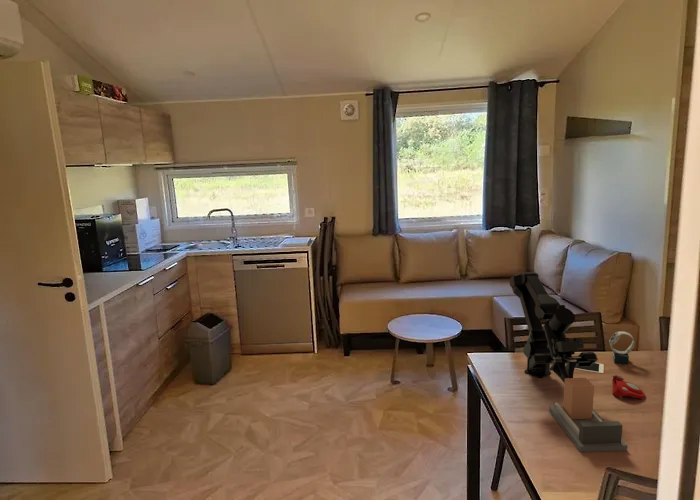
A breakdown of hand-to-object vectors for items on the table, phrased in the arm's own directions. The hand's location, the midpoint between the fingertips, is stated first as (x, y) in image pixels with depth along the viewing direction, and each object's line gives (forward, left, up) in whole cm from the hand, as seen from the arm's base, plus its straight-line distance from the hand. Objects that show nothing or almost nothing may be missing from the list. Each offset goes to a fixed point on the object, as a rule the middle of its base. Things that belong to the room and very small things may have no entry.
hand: (570, 388), depth 142 cm
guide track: (+8, -6, -7) cm, 12 cm away
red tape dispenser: (+5, +24, -8) cm, 26 cm away
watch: (-6, +45, -7) cm, 46 cm away
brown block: (+4, -3, -5) cm, 8 cm away
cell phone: (-14, +31, -8) cm, 35 cm away
